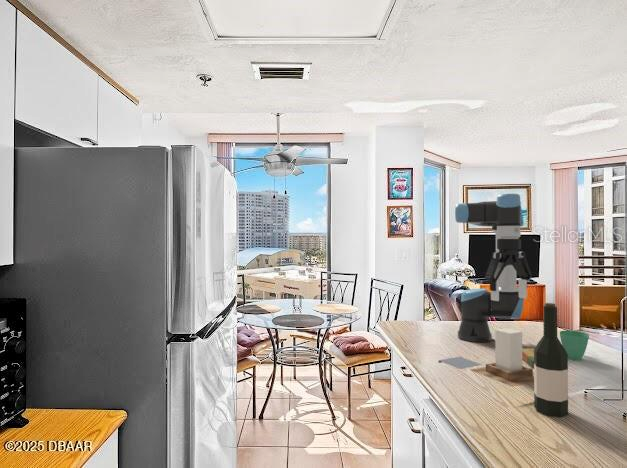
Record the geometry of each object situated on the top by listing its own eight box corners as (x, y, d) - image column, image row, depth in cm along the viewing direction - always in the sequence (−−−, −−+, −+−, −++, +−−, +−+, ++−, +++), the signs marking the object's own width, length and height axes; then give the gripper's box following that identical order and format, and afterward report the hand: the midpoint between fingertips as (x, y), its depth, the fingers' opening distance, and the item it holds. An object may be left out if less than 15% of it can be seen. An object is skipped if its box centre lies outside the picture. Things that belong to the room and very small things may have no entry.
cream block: (495, 372, 145) (495, 329, 145) (507, 370, 147) (507, 328, 147) (509, 377, 139) (509, 333, 139) (522, 375, 142) (522, 331, 142)
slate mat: (438, 362, 159) (438, 360, 159) (460, 358, 164) (460, 356, 164) (459, 370, 149) (459, 368, 149) (481, 366, 154) (481, 364, 154)
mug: (591, 363, 156) (591, 337, 157) (561, 360, 161) (561, 334, 161) (584, 353, 170) (584, 329, 170) (556, 350, 174) (556, 327, 174)
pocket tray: (469, 371, 148) (469, 362, 148) (505, 365, 155) (505, 356, 155) (512, 388, 132) (512, 378, 132) (550, 380, 139) (550, 370, 139)
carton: (538, 359, 164) (538, 348, 164) (557, 372, 148) (557, 361, 148) (516, 358, 165) (516, 347, 165) (532, 371, 149) (532, 360, 149)
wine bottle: (527, 405, 119) (527, 301, 119) (555, 404, 120) (554, 301, 120) (546, 417, 111) (545, 306, 111) (575, 416, 111) (574, 306, 112)
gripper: (491, 238, 135) (491, 303, 135) (542, 238, 145) (543, 298, 145) (473, 238, 142) (474, 300, 142) (524, 238, 152) (524, 295, 152)
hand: (509, 299), depth 143 cm, fingers open, 13 cm apart
